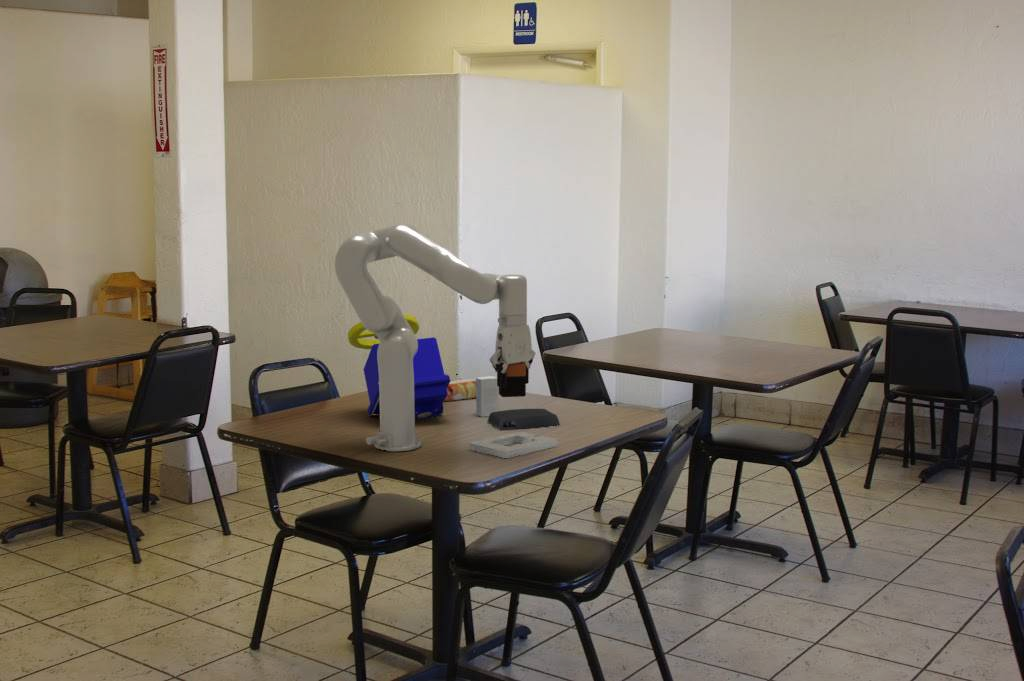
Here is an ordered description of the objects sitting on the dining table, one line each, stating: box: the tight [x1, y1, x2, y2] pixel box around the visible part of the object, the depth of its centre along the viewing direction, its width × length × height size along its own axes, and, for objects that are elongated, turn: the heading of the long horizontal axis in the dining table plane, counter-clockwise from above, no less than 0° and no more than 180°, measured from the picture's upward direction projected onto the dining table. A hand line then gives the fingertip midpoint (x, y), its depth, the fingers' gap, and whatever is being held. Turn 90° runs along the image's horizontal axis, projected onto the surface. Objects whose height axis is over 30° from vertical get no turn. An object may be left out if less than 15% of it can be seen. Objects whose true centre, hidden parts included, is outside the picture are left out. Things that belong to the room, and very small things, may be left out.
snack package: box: [444, 377, 477, 402], centre depth 373 cm, size 21×7×7 cm, turn 120°
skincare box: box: [475, 375, 500, 418], centre depth 347 cm, size 6×4×12 cm
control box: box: [347, 313, 451, 421], centre depth 342 cm, size 26×27×30 cm
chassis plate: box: [468, 431, 558, 459], centre depth 304 cm, size 20×14×2 cm
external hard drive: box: [486, 408, 561, 431], centre depth 335 cm, size 13×19×4 cm
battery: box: [498, 360, 527, 398], centre depth 302 cm, size 4×7×10 cm, turn 102°
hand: (512, 384), depth 302 cm, fingers closed on battery, 7 cm apart
